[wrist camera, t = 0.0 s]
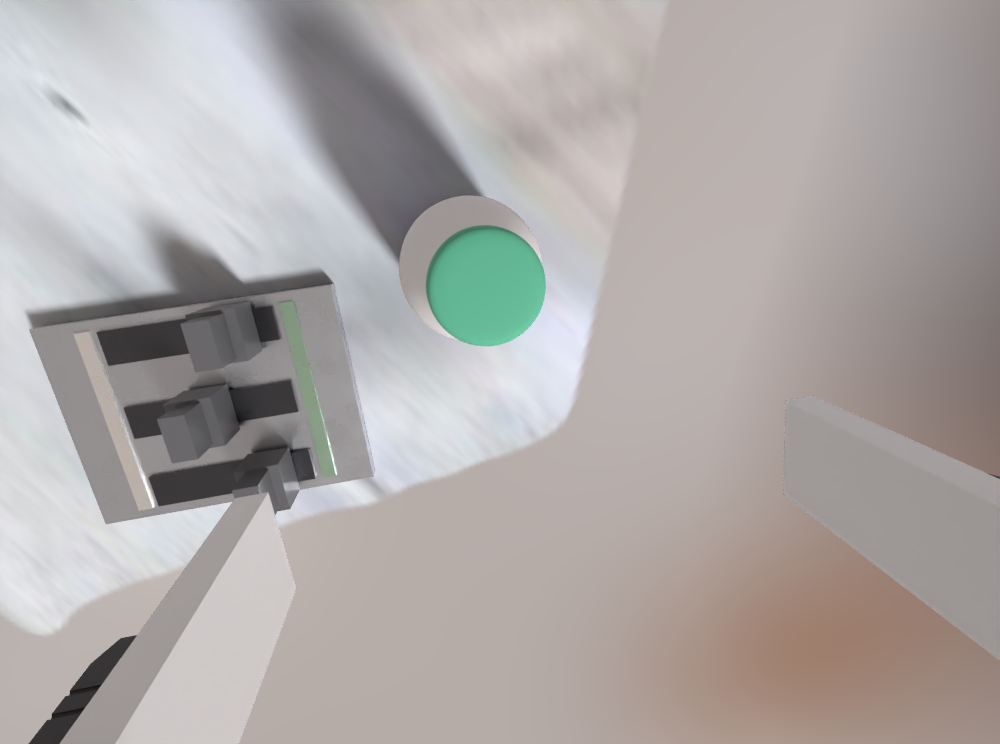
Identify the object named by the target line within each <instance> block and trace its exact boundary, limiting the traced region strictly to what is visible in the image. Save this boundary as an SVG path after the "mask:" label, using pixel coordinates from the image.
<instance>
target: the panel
mask: <svg viewBox="0 0 1000 744" xmlns="http://www.w3.org/2000/svg"><path fill="white" fill-rule="evenodd" d="M248 301H249V302H250V305H251V309H252V313H253V316H254V320H255V324H256V327H257V331H258V335H259V339H260V342H261V346H262V351H261V352H260V353H258V354H257V355H256V356H254V357H253V358H252V359H250V360H249V361H244V362H238V363H231V364H228V365H227V366H225V367H224V368H222V369H216V370H209V371H203V372H197V373H195V370H194V367H193V364H192V360H191V357H190V354H189V351H188V347H187V344H186V341H185V338H184V335H183V331H182V328H181V325H180V324H182V323H184V322H187V320H186V317H185V315H187V314H189V313H192V312H195V311H198V310H200V309H203V308H207V307H214V306H221V305H228V304H234V303H241V302H248ZM29 330H30V333H31V336H32V338H33V341H34V343H35V346H36V348H37V351H38V353H39V356H40V358H41V361H42V363H43V366H44V368H45V371H46V374H47V376H48V379H49V381H50V384H51V386H52V389H53V391H54V394H55V396H56V399H57V401H58V404H59V406H60V409H61V412H62V414H63V417H64V419H65V422H66V424H67V427H68V429H69V432H70V434H71V437H72V439H73V442H74V444H75V447H76V450H77V452H78V455H79V457H80V460H81V462H82V465H83V467H84V470H85V472H86V475H87V477H88V480H89V482H90V485H91V488H92V490H93V493H94V495H95V498H96V500H97V503H98V505H99V508H100V510H101V513H102V515H103V518H104V520H105V523H106V524H110V523H115V522H121V521H127V520H132V519H138V518H143V517H149V516H155V515H160V514H166V513H171V512H177V511H183V510H188V509H194V508H199V507H205V506H211V505H216V504H222V503H228V502H233V501H234V500H235V498H234V495H233V492H232V490H233V488H234V487H235V486H236V484H237V483H236V480H235V477H234V473H233V472H234V471H235V469H236V468H237V467H238V466H239V464H240V463H241V462H242V461H243V459H244V458H245V457H246V456H247V454H252V453H257V452H263V451H269V450H275V449H281V448H287V447H289V450H290V453H291V457H292V461H293V464H294V468H295V472H296V476H297V479H298V483H299V487H300V490H301V489H306V488H312V487H317V486H323V485H329V484H334V483H340V482H345V481H351V480H357V479H362V478H368V477H373V476H374V472H375V467H374V463H373V458H372V454H371V449H370V445H369V440H368V436H367V431H366V427H365V422H364V418H363V413H362V409H361V404H360V400H359V395H358V391H357V386H356V382H355V377H354V373H353V368H352V364H351V359H350V355H349V350H348V346H347V341H346V337H345V332H344V328H343V323H342V319H341V314H340V310H339V305H338V301H337V296H336V292H335V287H334V283H332V284H325V285H319V286H312V287H305V288H298V289H291V290H285V291H278V292H271V293H264V294H257V295H251V296H244V297H237V298H230V299H223V300H217V301H210V302H203V303H196V304H190V305H183V306H176V307H169V308H162V309H156V310H149V311H142V312H135V313H128V314H122V315H115V316H108V317H101V318H94V319H88V320H81V321H74V322H67V323H61V324H54V325H47V326H41V327H37V328H33V329H29ZM224 384H227V386H228V389H229V393H230V396H231V400H232V403H233V406H234V410H235V413H236V416H237V420H238V423H239V427H240V430H239V431H238V432H237V433H236V434H235V436H234V437H233V438H232V439H231V440H230V441H229V442H228V443H227V444H226V445H225V446H220V447H215V448H209V449H208V450H207V451H206V452H205V453H204V454H203V455H202V456H201V457H200V458H199V459H197V460H191V461H185V462H179V463H173V464H172V462H171V459H170V456H169V454H168V451H167V448H166V445H165V442H164V439H163V436H162V433H161V430H160V427H159V424H158V421H157V419H158V418H160V417H161V416H163V415H164V414H165V410H164V407H163V404H165V403H166V402H168V401H169V400H171V399H172V398H174V397H175V396H177V395H178V394H180V393H181V392H183V391H187V390H193V389H199V388H206V387H212V386H218V385H224Z"/></svg>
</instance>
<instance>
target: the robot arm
mask: <svg viewBox="0 0 1000 744" xmlns="http://www.w3.org/2000/svg"><path fill="white" fill-rule="evenodd" d="M784 444H785V445H784V490H783V491H784V493H783V494H784V496H786V497H787V498H788V499H790V500H791V501H792V502H794V503H795V504H796V505H797V506H799V507H800V508H801V509H803V510H804V511H805V512H807V513H808V514H809V515H811V516H812V517H813V518H815V519H816V520H817V521H818V522H820V523H821V524H822V525H824V526H825V527H826V528H828V529H829V530H830V531H831V532H833V533H834V534H835V535H837V536H838V537H839V538H840V539H842V540H843V541H844V542H846V543H847V544H848V545H850V546H851V547H852V548H854V549H855V550H856V551H858V552H859V553H860V554H861V555H863V556H864V557H865V558H867V559H868V560H869V561H870V562H872V563H873V564H874V565H876V566H877V567H878V568H880V569H881V570H882V571H884V572H885V573H886V574H887V575H889V576H890V577H891V578H893V579H894V580H895V581H897V582H898V583H899V584H901V585H902V586H903V587H904V588H906V589H907V590H908V591H910V592H911V593H912V594H914V595H915V596H916V597H918V598H919V599H920V600H921V601H923V602H924V603H925V604H927V605H928V606H929V607H930V608H932V609H933V610H934V611H936V612H937V613H938V614H940V615H941V616H942V617H943V618H945V619H946V620H947V621H949V622H950V623H951V624H953V625H954V626H955V627H957V628H958V629H959V630H960V631H962V632H963V633H964V634H966V635H967V636H968V637H970V638H971V639H972V640H973V641H975V642H976V643H977V644H979V645H980V646H981V647H983V648H984V649H986V650H987V651H988V652H989V653H991V654H992V655H993V656H994V657H996V658H997V659H998V660H1000V477H999V476H995V475H991V474H988V473H985V472H982V471H980V470H978V469H976V468H974V467H971V466H969V465H967V464H965V463H962V462H960V461H958V460H956V459H953V458H951V457H949V456H947V455H944V454H942V453H940V452H938V451H936V450H933V449H931V448H929V447H927V446H924V445H922V444H920V443H917V442H916V441H913V440H911V439H909V438H907V437H904V436H902V435H900V434H897V433H895V432H893V431H891V430H889V429H886V428H884V427H882V426H880V425H878V424H875V423H873V422H871V421H869V420H866V419H864V418H862V417H860V416H858V415H855V414H853V413H851V412H848V411H846V410H844V409H842V408H840V407H837V406H835V405H833V404H830V403H828V402H826V401H824V400H822V399H819V398H817V397H815V396H808V397H802V398H797V399H791V400H785V440H784ZM295 591H296V586H295V583H294V579H293V576H292V572H291V569H290V565H289V562H288V558H287V555H286V551H285V548H284V545H283V541H282V538H281V534H280V531H279V527H278V524H277V520H276V517H275V513H274V510H273V507H272V503H271V500H270V496H269V493H268V492H267V493H262V494H256V495H250V496H245V497H239V498H235V500H234V501H233V502H232V504H231V505H230V506H229V508H228V509H227V511H226V512H225V513H224V515H223V516H222V518H221V519H220V520H219V522H218V523H217V525H216V526H215V527H214V529H213V530H212V532H211V533H210V534H209V536H208V537H207V539H206V540H205V541H204V543H203V544H202V546H201V547H200V548H199V550H198V551H197V553H196V554H195V555H194V557H193V558H192V560H191V561H190V562H189V564H188V565H187V567H186V568H185V569H184V571H183V572H182V574H181V575H180V576H179V578H178V579H177V580H176V582H175V583H174V585H173V586H172V588H171V589H170V590H169V592H168V593H167V594H166V596H165V597H164V599H163V600H162V601H161V603H160V604H159V606H158V607H157V608H156V610H155V611H154V613H153V614H152V615H151V617H150V618H149V620H148V621H147V622H146V624H145V625H144V627H143V628H142V629H141V631H140V632H139V634H138V635H136V636H130V637H125V638H121V639H120V640H118V641H117V642H116V643H115V644H114V645H112V646H111V647H110V648H109V649H108V650H106V651H105V652H104V653H103V654H102V655H101V656H99V657H98V658H97V659H96V660H95V661H94V662H93V663H91V664H90V666H89V667H88V668H87V669H86V671H85V672H84V673H83V675H82V676H81V677H80V679H79V680H78V681H77V682H76V684H75V685H74V686H73V687H72V689H71V690H70V695H69V696H66V697H65V698H64V699H63V700H62V702H61V703H60V704H59V706H58V707H57V708H56V709H55V711H54V712H53V713H52V718H51V720H47V721H46V722H45V724H44V725H43V726H42V727H41V729H40V730H39V731H38V733H37V734H36V735H35V737H34V738H33V739H32V740H31V742H30V743H29V744H239V742H240V739H241V737H242V734H243V731H244V729H245V726H246V723H247V720H248V718H249V715H250V712H251V710H252V707H253V704H254V702H255V699H256V696H257V693H258V691H259V688H260V685H261V683H262V680H263V677H264V675H265V672H266V669H267V667H268V664H269V661H270V659H271V655H272V653H273V650H274V648H275V645H276V642H277V640H278V637H279V634H280V631H281V629H282V626H283V623H284V621H285V618H286V615H287V613H288V610H289V607H290V605H291V602H292V599H293V596H294V594H295Z"/></svg>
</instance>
